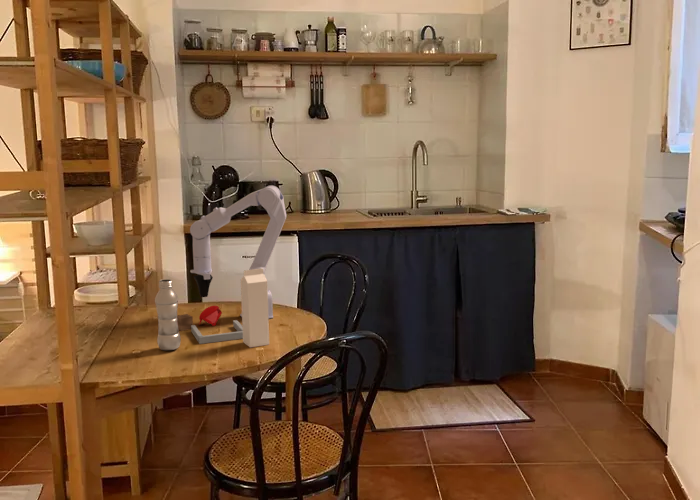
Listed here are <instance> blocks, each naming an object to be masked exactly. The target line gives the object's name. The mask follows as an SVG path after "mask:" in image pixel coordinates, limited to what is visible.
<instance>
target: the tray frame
mask: <svg viewBox="0 0 700 500" xmlns="http://www.w3.org/2000/svg"><path fill="white" fill-rule="evenodd" d="M232 325H233V326H232V327H233V328H234V329H235V330H236V331H231V332H230V331H229V332H222V333H215V334H206V335H203V334H202V333H201V331H200V330H199V329H198V327H197V325H195V324H193V325H191V329H190V332H191V333H192V334H193V337H194V338H195V340H196V341H197V342H198V344H199V345H203V344H211V343H218V342H227V341H233V340H234V341H235V340H243V327H242V323H241V322H239V321H238V320H237V319H235V320H232Z"/></svg>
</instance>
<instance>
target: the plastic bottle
mask: <svg viewBox="0 0 700 500" xmlns="http://www.w3.org/2000/svg"><path fill="white" fill-rule="evenodd" d="M158 288H159V290H158V292H157V293H156V294H155V295H156V296H155V297H154V303H155V308H156V313H157V321H158V325H157V327H158V329H157V330H158V334H157V339H156V341H157V346H158V348H159V349H160V350H162V351H174V350H177V349H178V348H179V347H180V346H181V335H180V330H178V323H177V316H178V307H179V306H178V304H179V297H178V295H177V293H176V292H175V290H174V289H173V280H172V279H170V278H169V279H167V278H166V279H159V281H158Z"/></svg>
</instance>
